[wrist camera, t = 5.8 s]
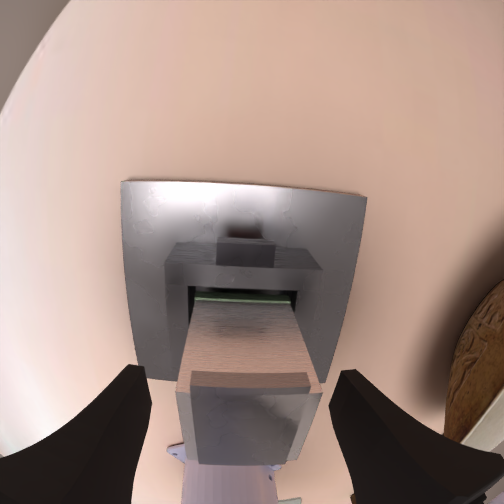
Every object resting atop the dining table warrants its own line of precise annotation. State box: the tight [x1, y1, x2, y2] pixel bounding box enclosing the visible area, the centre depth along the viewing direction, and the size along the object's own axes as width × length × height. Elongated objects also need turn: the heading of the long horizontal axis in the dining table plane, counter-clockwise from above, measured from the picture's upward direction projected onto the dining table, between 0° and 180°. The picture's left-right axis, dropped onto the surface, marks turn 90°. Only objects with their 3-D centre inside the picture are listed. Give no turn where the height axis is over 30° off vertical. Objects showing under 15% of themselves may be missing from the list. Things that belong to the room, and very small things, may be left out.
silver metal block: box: [175, 291, 323, 466], centre depth 10 cm, size 5×4×6 cm
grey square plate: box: [121, 180, 367, 383], centre depth 15 cm, size 13×13×4 cm
